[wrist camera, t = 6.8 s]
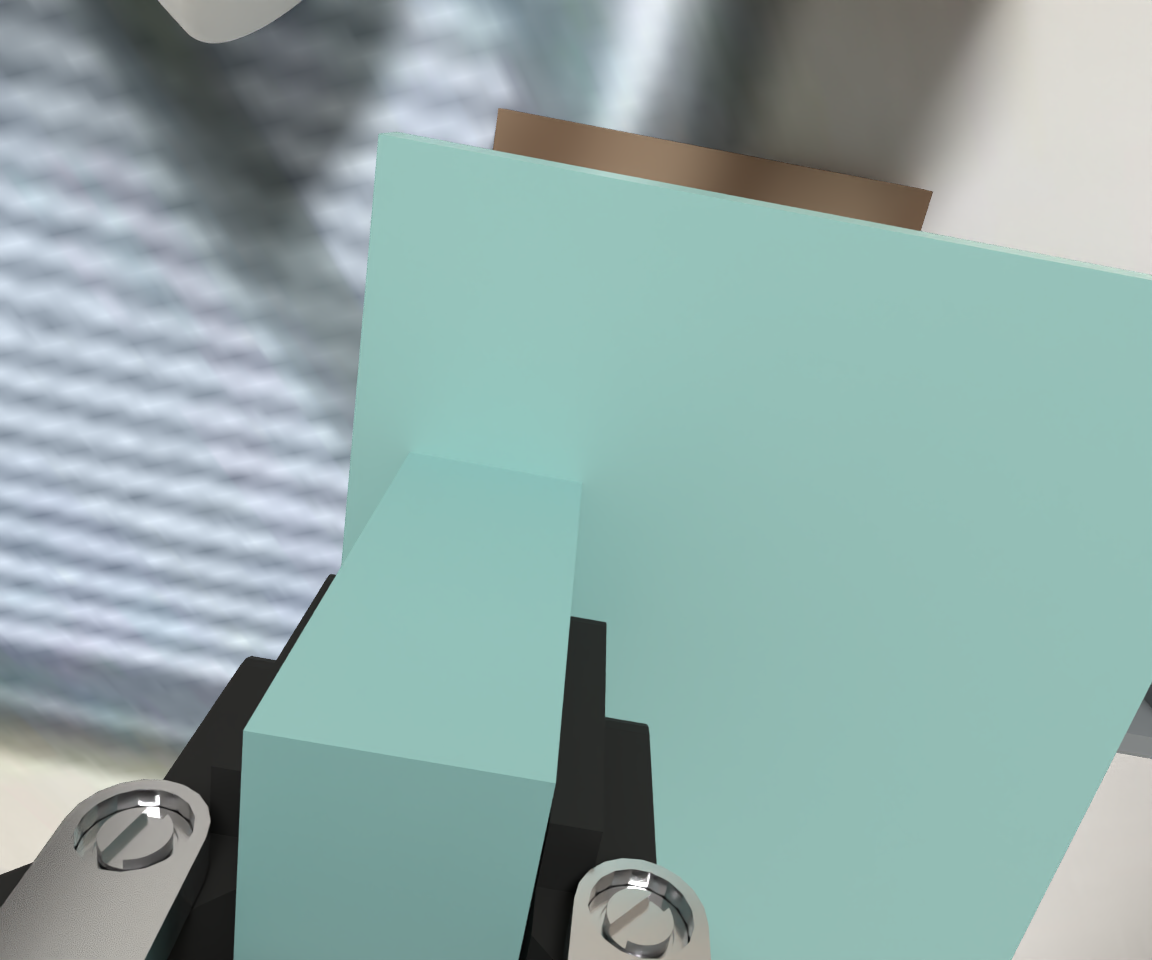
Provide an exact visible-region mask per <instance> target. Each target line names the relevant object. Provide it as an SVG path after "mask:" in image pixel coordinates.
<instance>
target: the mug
mask: <svg viewBox="0 0 1152 960" xmlns="http://www.w3.org/2000/svg"><path fill="white" fill-rule="evenodd" d="M158 1H159V2H160V3H161V5H162V6H163V7H164V8H165V9H166V10H167V11H168V12H169V13H170V15H171V16H172V17H173V18H174V19H175V20H176V21H177V22H178V23H179V25H180V26H181V27H182V28H183V29H184V30H185V31H186V32H187V33H188V34H189V35H190V36H191V37H193V38H195V39H196V40H199V41H202V42H205V43H223V42H229V41H233V40H236V39H239V38H242V37H244V36H246V35H249V34H251V33H253V32H255V31H257V30H259V29H261V28H263V27H265V26H266V25H268V24H270V23H271V22H273V21H274V20H276V19H278V18H279V17H281V16H282V15H283V14H285V13H286V12H288V11H289V10H290V9H292V8H293V7H294V6H296V5H297V4H298V3H300V2H301V1H302V0H158Z"/></svg>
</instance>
